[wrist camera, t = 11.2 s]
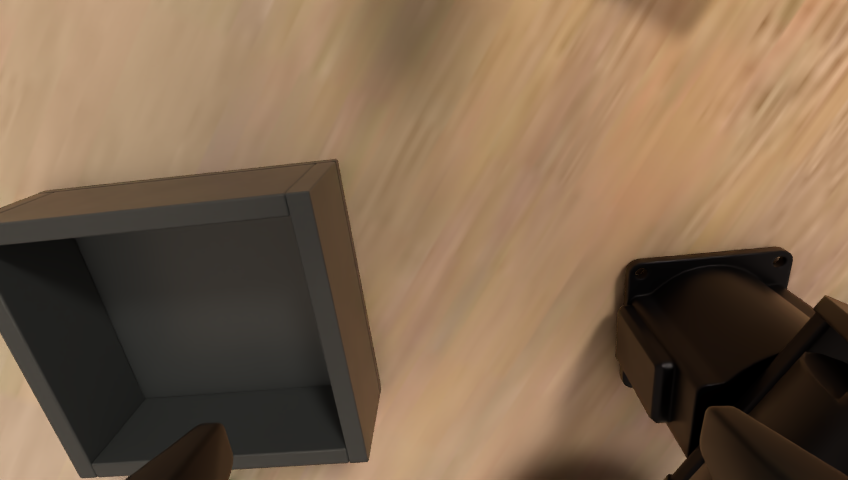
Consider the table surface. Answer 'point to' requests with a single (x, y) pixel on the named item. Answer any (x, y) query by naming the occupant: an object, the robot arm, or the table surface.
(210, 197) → the basket
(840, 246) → the table surface
